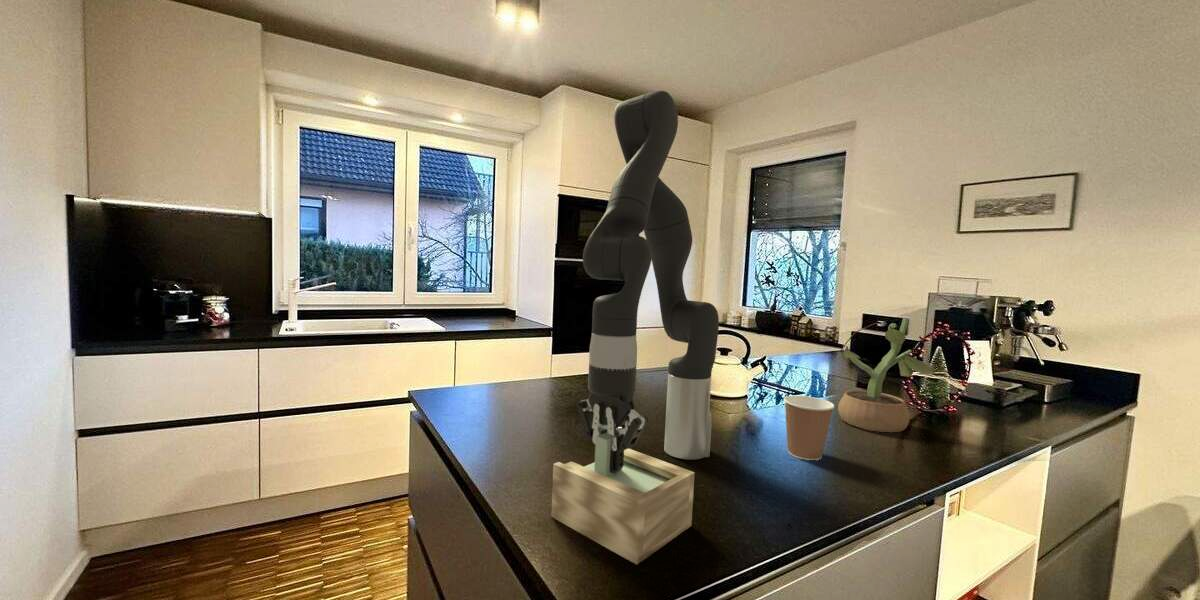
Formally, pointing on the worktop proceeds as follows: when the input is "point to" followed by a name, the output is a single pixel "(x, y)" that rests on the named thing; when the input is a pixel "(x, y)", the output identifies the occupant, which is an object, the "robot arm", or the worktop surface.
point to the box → (624, 506)
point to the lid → (628, 473)
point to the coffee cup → (807, 426)
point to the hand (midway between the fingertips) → (608, 468)
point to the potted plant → (872, 404)
